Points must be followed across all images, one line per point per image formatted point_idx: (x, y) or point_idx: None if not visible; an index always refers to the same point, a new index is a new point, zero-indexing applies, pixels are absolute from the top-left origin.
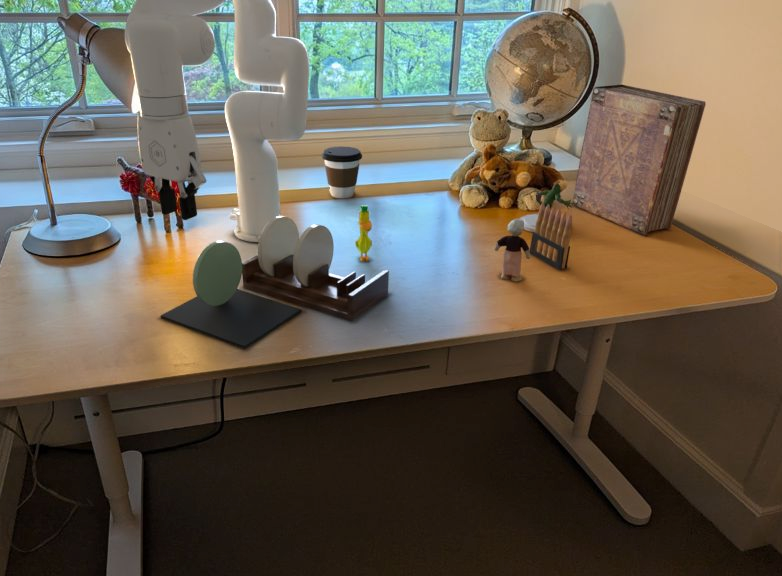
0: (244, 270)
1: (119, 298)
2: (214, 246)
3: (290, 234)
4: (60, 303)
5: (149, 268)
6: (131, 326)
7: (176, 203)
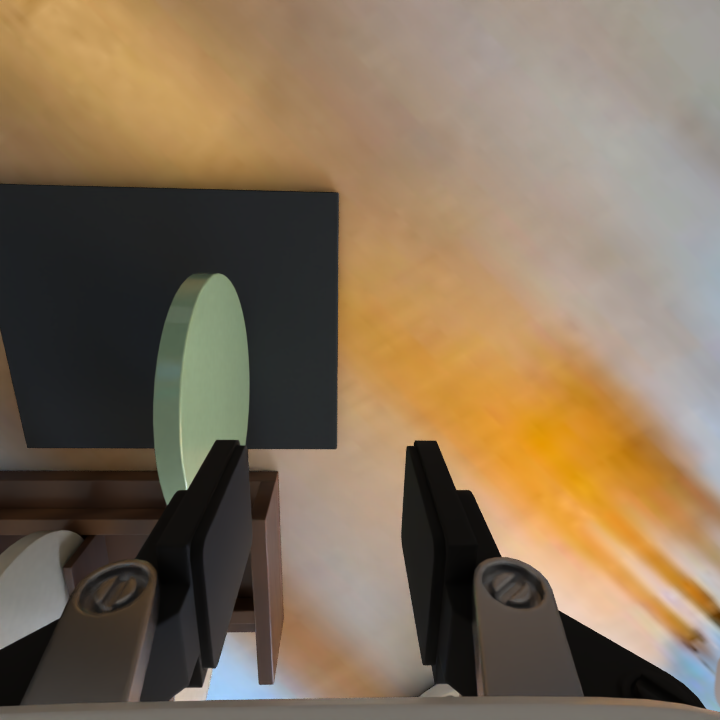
0: (256, 505)
1: (554, 222)
2: (155, 439)
3: None
4: (713, 82)
5: (611, 422)
6: (379, 95)
7: (407, 572)
